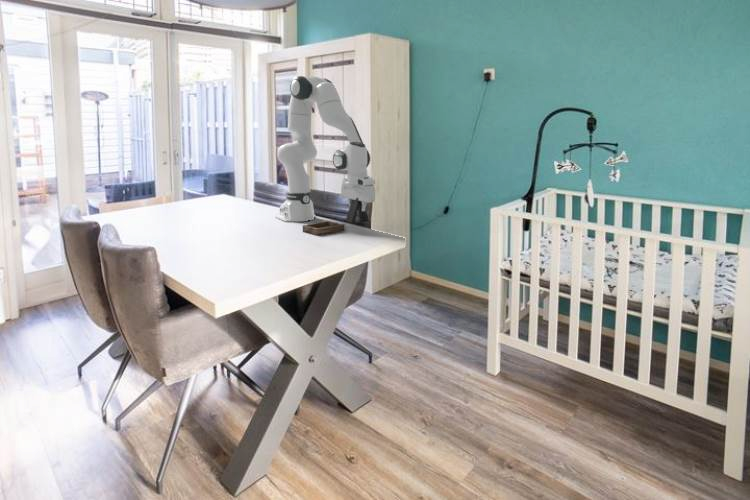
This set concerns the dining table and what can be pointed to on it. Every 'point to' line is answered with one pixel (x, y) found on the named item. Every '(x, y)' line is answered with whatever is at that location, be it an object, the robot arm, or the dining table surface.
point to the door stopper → (353, 212)
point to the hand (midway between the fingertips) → (357, 209)
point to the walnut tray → (323, 228)
